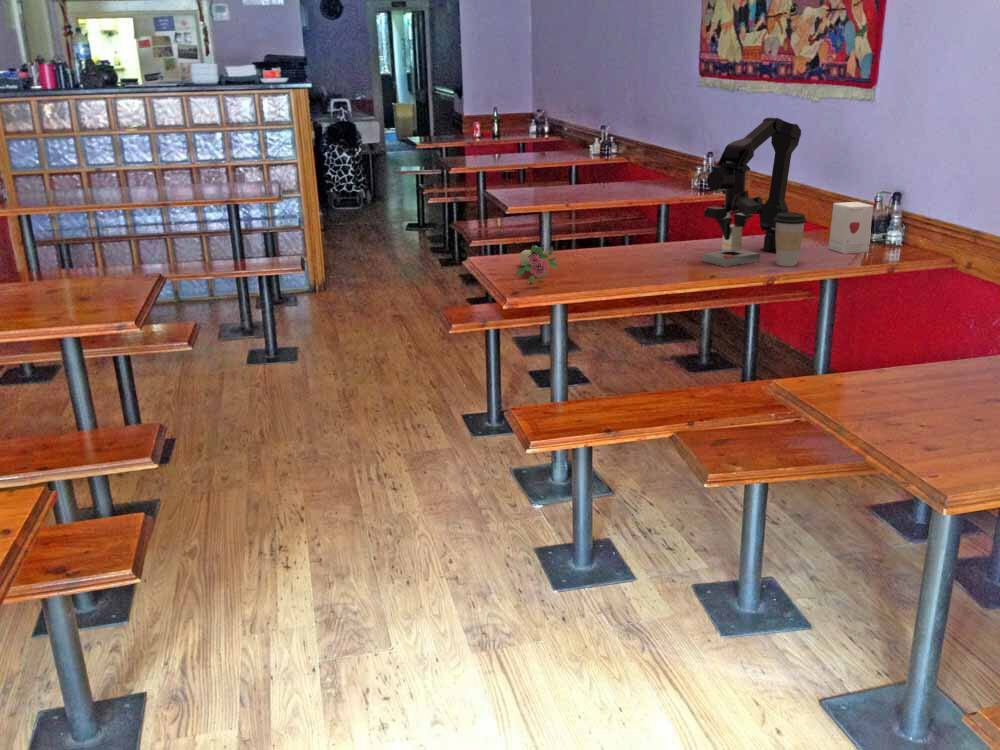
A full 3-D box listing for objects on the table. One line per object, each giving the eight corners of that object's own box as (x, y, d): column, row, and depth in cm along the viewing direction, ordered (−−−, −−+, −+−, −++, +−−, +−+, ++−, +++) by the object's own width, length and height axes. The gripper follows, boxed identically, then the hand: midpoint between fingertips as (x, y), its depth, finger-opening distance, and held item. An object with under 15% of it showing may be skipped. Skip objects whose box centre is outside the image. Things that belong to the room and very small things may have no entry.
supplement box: (843, 254, 294) (848, 206, 289) (827, 249, 302) (832, 202, 297) (869, 252, 295) (874, 205, 291) (852, 247, 304) (857, 201, 299)
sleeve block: (736, 256, 294) (737, 246, 293) (759, 261, 285) (760, 252, 284) (702, 261, 287) (702, 251, 287) (724, 267, 279) (724, 257, 278)
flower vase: (538, 290, 288) (558, 291, 253) (500, 279, 286) (515, 279, 251) (548, 252, 287) (570, 249, 252) (510, 242, 285) (527, 237, 251)
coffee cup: (779, 268, 276) (783, 217, 271) (764, 262, 285) (768, 212, 280) (808, 266, 278) (813, 216, 273) (793, 260, 287) (797, 211, 282)
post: (731, 248, 288) (733, 224, 286) (741, 250, 284) (743, 226, 282) (721, 249, 286) (722, 225, 284) (730, 251, 283) (732, 227, 280)
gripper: (729, 192, 268) (726, 246, 273) (778, 187, 277) (774, 239, 282) (704, 188, 278) (701, 240, 283) (751, 183, 286) (748, 234, 291)
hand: (732, 238), depth 284 cm, fingers closed on post, 4 cm apart
